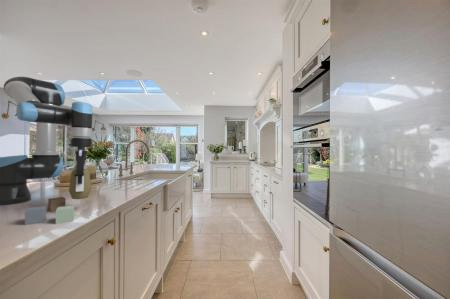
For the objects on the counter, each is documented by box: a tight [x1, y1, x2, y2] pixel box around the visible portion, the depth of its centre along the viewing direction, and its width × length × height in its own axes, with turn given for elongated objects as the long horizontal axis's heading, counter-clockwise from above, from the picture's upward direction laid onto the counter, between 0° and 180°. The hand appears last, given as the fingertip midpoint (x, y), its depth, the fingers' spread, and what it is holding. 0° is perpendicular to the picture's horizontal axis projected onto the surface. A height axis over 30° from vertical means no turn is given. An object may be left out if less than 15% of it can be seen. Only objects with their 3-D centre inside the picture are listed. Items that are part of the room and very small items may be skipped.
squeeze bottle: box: [68, 164, 92, 200], centre depth 91 cm, size 8×8×18 cm
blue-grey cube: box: [24, 205, 47, 226], centre depth 76 cm, size 5×5×5 cm
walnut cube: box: [47, 196, 66, 213], centre depth 92 cm, size 5×5×5 cm
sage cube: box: [55, 204, 75, 225], centre depth 78 cm, size 5×5×5 cm
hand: (80, 189), depth 91 cm, fingers closed on squeeze bottle, 8 cm apart
